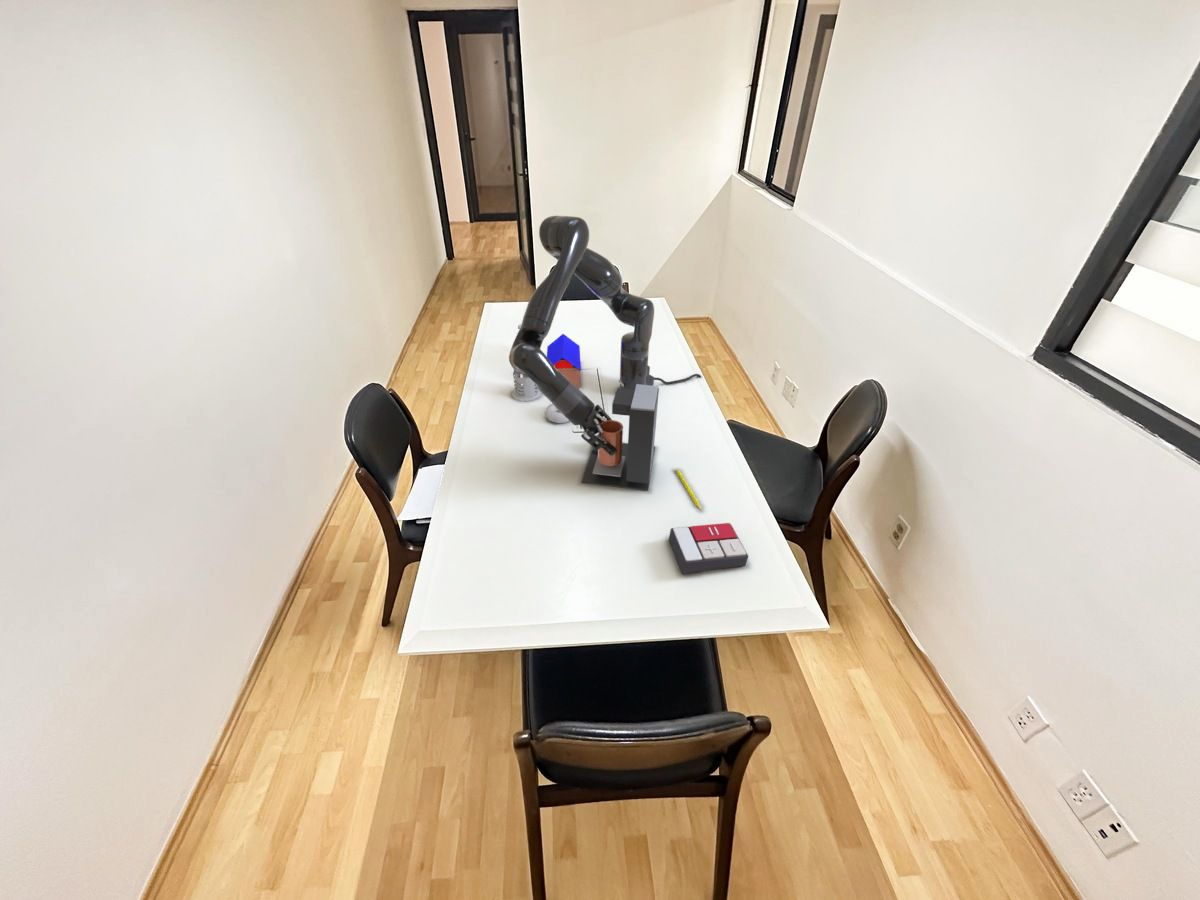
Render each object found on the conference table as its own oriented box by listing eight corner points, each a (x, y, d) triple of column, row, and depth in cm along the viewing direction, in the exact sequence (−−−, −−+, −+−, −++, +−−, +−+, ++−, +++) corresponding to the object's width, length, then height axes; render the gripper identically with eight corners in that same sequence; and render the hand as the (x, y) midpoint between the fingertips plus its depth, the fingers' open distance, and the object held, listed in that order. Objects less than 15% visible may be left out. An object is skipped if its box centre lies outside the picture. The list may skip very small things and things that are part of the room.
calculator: (750, 554, 116) (685, 560, 113) (745, 567, 118) (682, 574, 115) (731, 520, 124) (670, 525, 122) (727, 533, 127) (668, 538, 124)
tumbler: (612, 449, 146) (613, 417, 140) (626, 460, 141) (628, 428, 135) (593, 457, 143) (593, 424, 137) (607, 469, 139) (607, 436, 132)
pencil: (675, 472, 146) (675, 469, 145) (678, 471, 146) (678, 468, 145) (698, 511, 133) (699, 508, 132) (702, 510, 133) (702, 507, 132)
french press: (517, 403, 174) (511, 333, 160) (506, 388, 183) (498, 320, 168) (545, 397, 178) (541, 327, 163) (532, 382, 186) (527, 314, 172)
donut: (541, 423, 165) (572, 426, 163) (540, 414, 163) (572, 417, 161) (550, 407, 173) (579, 410, 171) (549, 398, 171) (579, 401, 169)
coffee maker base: (581, 483, 141) (581, 475, 139) (594, 441, 157) (594, 434, 155) (648, 491, 138) (648, 483, 137) (655, 448, 154) (655, 440, 153)
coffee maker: (591, 477, 139) (591, 403, 126) (599, 451, 149) (600, 380, 135) (648, 484, 137) (654, 409, 124) (653, 457, 147) (659, 385, 133)
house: (546, 388, 183) (545, 357, 176) (548, 362, 199) (546, 333, 192) (581, 387, 183) (580, 357, 177) (579, 362, 200) (579, 333, 193)
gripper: (576, 409, 126) (623, 454, 132) (587, 381, 138) (630, 423, 143) (555, 425, 130) (601, 468, 135) (568, 397, 142) (610, 437, 147)
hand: (616, 445), depth 139 cm, fingers closed on tumbler, 6 cm apart
